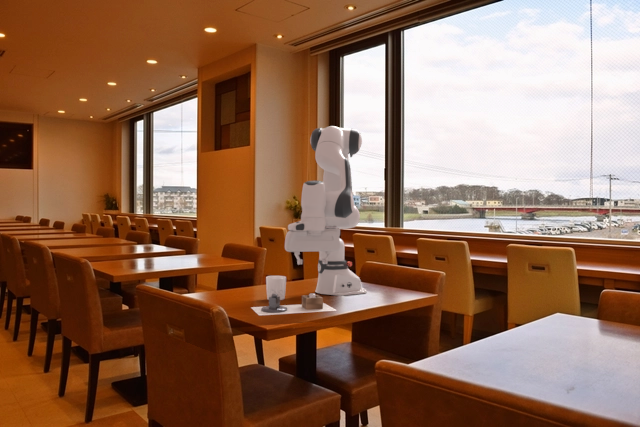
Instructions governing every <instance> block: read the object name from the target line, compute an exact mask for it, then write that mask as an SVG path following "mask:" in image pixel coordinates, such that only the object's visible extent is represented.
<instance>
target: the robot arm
mask: <svg viewBox="0 0 640 427" xmlns="http://www.w3.org/2000/svg"><path fill="white" fill-rule="evenodd" d="M309 142H310V146H311V149H312V150H313V151H314V152H315V154H314V156H315V158H314V159H315V161H316V163H317V165H318V167H320V169H322V170H323V177H322V180H307V181H305V182H303V185H302V189H301V190H302V191H301V199H300V200H301V201H300V203H301V204H300V205H301V206H300V207H301V211H302V212H301V214H300V220H297V221H295V222H292V223H289V224H288V225H287V230H288V231H287V232H286V235H285V240H284V250H285V251H286V252H288V253H294V254H293V255H294V256H295V258H296V262H297V263H296V264H297V265H298V266H299V265H303V262H304V260H303V259H302V258H301V257H300V255H301V253H303V252H305V253H306V252H318V254H319V257H318V260H317V261H318V264H317V271H318V272H317V273H318V276H317V284H316V288H315V294H316V293H317V294H319V295H320V294H321V295H328V296H329V295H331V296H340V297H341V296H352V295H360V294H367V289H365V288H364V287H362V280H361V279H360V278H361V277H359V276H358V275H357V274H356V273H354V272H353V271H352V270H350V269H349V267H352V261H347V260H346V259H345V252H346V251H345V248H346V247H345V246H346V245H345V242H344V240H343V239H342V238H340V236H341V230H347V229H352V228H356V227H357V225H359V222H360V219H361V215H360V211H359V209H358V207H357V206H356V205H355V200H354V197H353V185H352V183H353V182H352V172H351V169H352V168H351V164H350V162H349V160H350V159H349V157H350V158H352V157H353V156H354V155H356V154H357V153H358V152H359V151H360V149H361V147H362V144H363V139H362V135H361V132H360V131H359V130H358V129H355V128H345V127H338V126H335V125H330V126H326V127H324V128H323V127H318V128H315V129H313V131H312V132H311V135H310V138H309ZM300 252H301V253H300Z"/></svg>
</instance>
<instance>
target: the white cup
mask: <svg viewBox="0 0 640 427" xmlns="http://www.w3.org/2000/svg"><path fill="white" fill-rule="evenodd" d="M265 285H266V286H265V288H266V299H267V300H268V301H269V297H271V296H272V294H277V296H278V297H280V301H283V300H285V298H286V297H285V296H286V287H287V286H286V285H287V276H285V275H267V276H266V277H265Z"/></svg>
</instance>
